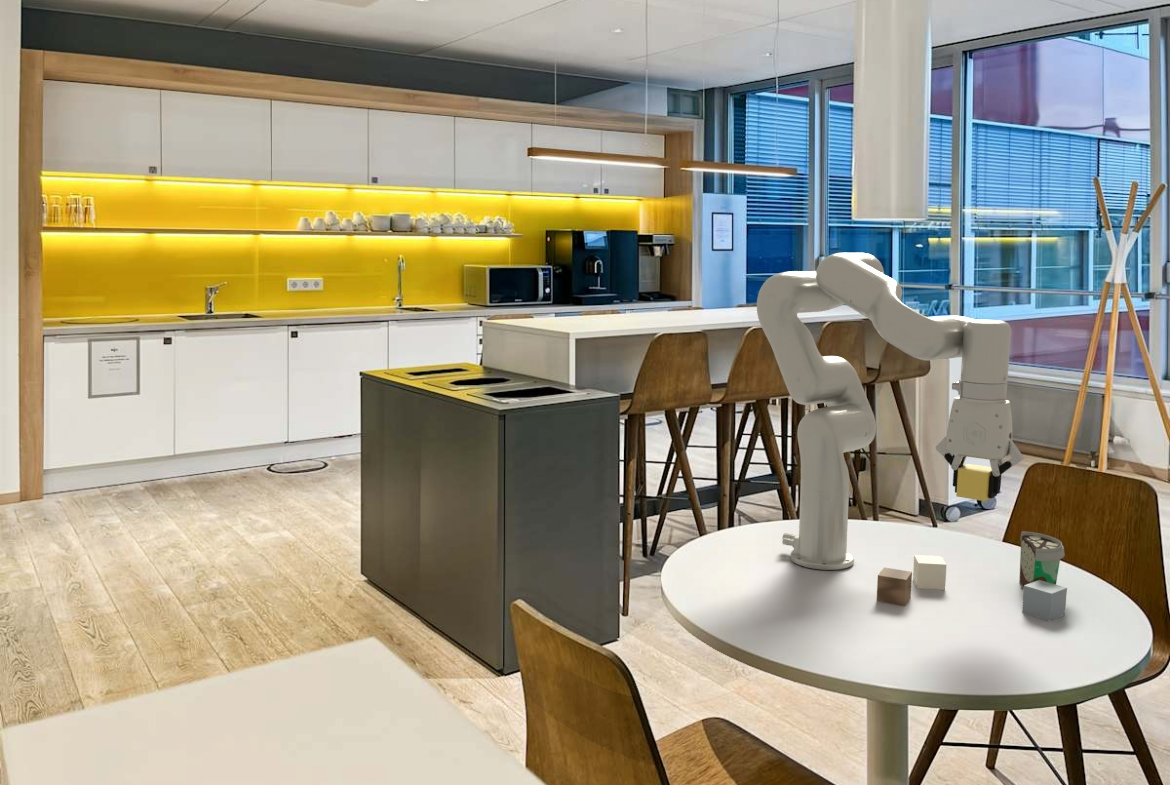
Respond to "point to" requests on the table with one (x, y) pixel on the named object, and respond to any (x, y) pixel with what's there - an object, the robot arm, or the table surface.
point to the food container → (1039, 558)
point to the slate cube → (1044, 600)
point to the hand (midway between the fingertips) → (975, 493)
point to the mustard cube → (973, 482)
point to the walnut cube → (894, 586)
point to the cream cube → (929, 572)
